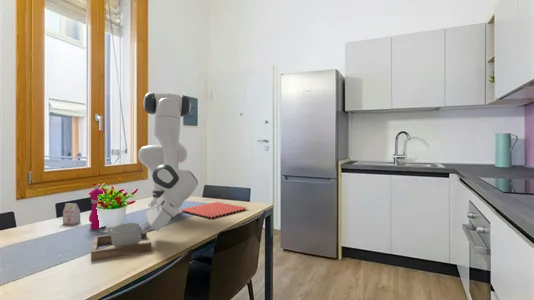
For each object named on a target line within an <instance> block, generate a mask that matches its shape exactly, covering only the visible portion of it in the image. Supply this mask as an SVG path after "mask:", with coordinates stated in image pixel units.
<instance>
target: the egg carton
mask: <svg viewBox="0 0 534 300" xmlns="http://www.w3.org/2000/svg"><path fill="white" fill-rule="evenodd" d="M244 209H245V210H246V209H247V210H249V209H248V207H247V206H246V207H245V206H241V205H235V204H232V203H231V204H230V203H224V202H219V201H214V202H211V203H205V204H199V205H195V206H191V207H188V208H187V207H185V208H182V209H181V208H180V211H182V213H186V214H189V215H192V216H194V215H195V216H196V217H197V216H201V217H203V218H207V219H210V220H212V219H216V217H217V219H218V218H220V216H221V217H223V216H225V217H226V216H227V214H228V215H230V214H231V215H233V214H234V213H235V214H236V213H240V212H242V213H243V210H244ZM186 211H187V212H186ZM188 212H189V213H188ZM209 217H210V218H209Z"/></svg>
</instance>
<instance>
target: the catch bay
mask: <svg viewBox="0 0 534 300" xmlns="http://www.w3.org/2000/svg"><path fill="white" fill-rule="evenodd" d="M147 232H148V231H147ZM147 232H146V233H145V234H143V233H142V232H141V239H146V238H147V236H148V235H147V234H148V233H147ZM106 244H112V239H111V237H110V235H109V234H103V235H95V236H93V239H92V244H91V251H90V260H91V262H93V261H98V260H102V259H110V258H117V257H122V256H128V255H129V256H130V255H134V254H141V253H147V252H152V251H153V250H152V241H146V242H142V243H140V242H139V243H138V244H133V245H126V246H119V247H114V246H112V247H108V248H107V247H106V248H99V246H100V245H106Z"/></svg>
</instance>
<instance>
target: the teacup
mask: <svg viewBox="0 0 534 300" xmlns="http://www.w3.org/2000/svg"><path fill="white" fill-rule="evenodd" d="M141 228H142V224H141V223H138V222H126V223H125V222H124V223H121V224H116V225H115V226H114V225H110V226H109V227H108V229H107V235H110V237H111V239H112V243H111V244H112V247H119V246H126V245H133V244H139V243H140V242H141V241H142V238H141Z"/></svg>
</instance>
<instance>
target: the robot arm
mask: <svg viewBox="0 0 534 300" xmlns="http://www.w3.org/2000/svg"><path fill="white" fill-rule="evenodd" d="M142 106H143V109H144V112H146V114H150V115H154V124H153V125H154V127H153V129H154V130H153V134H154V137H155V138H156V139H157V140H158V141H159V143H160V144H150V145H145V146H143V145H142V146H141V148H139V150H138V154H137V157H138V160H139V162H140V164H141V165H143V166H145V167H146V168H147V169H148V170H149V172H150V174H151V177H152V184H153V187H152V188H153V189H152V199H150V201H149V202H148V211H147V212H146V213H145V217H146V219H147V221H145V223H144V225H143V226H141V232H142V233H143V234H145V233H146V232H148V231H150V230H151V229H152V230H155V231H156V232H158V231H159V230H161V229H162V228H163V227H165V225H166V224H168V222H169V221H170V220H171V219H172V218H174V217H176V216H177V215H179V214H182V213H183V212H182V210H181V207H182V205H183V203H184V201H186V200H187V199H189V198H190V196H191V195H192V194H193V193H194V192H195V191H196V189H197V187H198V185H199V181H198V179H197V178H196V176H195V175H194V174H193V173H192V171H190V170H187V169H186V170H183V169H179V164H182V163H184V162H185V161H186V160H187V158H188V150H187V149H186V147H185V146H183V145H182V144H181V143H180V142H179V140H180V132H181V117H187V116H188V115H189V114H190V112H191V109H192V104H191V101H190V98H189V96H187V95H184V94H182V95H181V94H176V93H169V92H165V93H164V92H152V91H151V92H147V93H146V94H145V96H144V98H143V101H142Z"/></svg>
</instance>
